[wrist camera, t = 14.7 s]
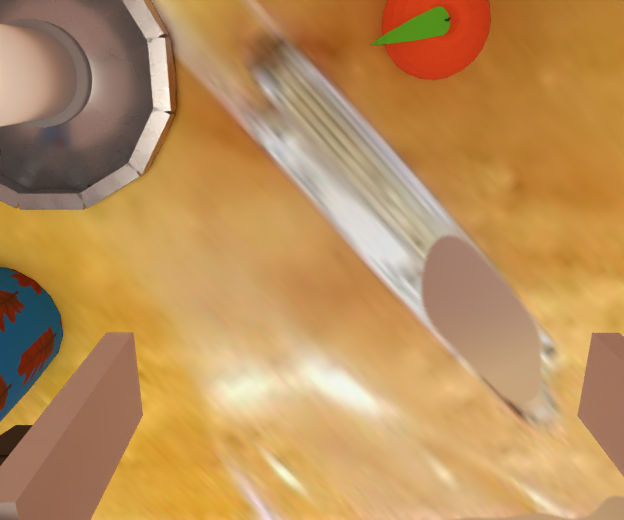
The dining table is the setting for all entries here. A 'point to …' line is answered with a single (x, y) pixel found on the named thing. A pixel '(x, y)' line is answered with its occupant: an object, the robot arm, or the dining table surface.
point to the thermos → (24, 335)
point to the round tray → (94, 107)
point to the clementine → (434, 35)
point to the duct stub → (41, 74)
